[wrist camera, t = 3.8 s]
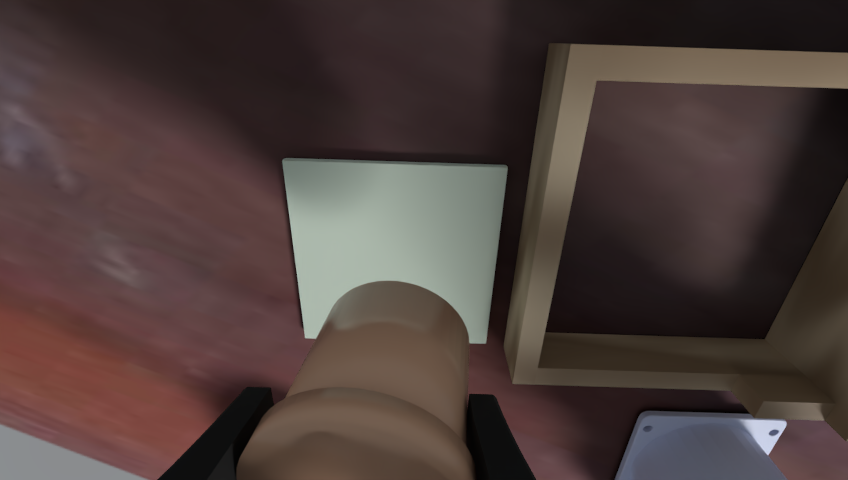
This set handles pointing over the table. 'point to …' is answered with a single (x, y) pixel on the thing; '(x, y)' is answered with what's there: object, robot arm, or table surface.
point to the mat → (395, 231)
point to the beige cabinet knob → (373, 395)
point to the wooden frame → (670, 355)
